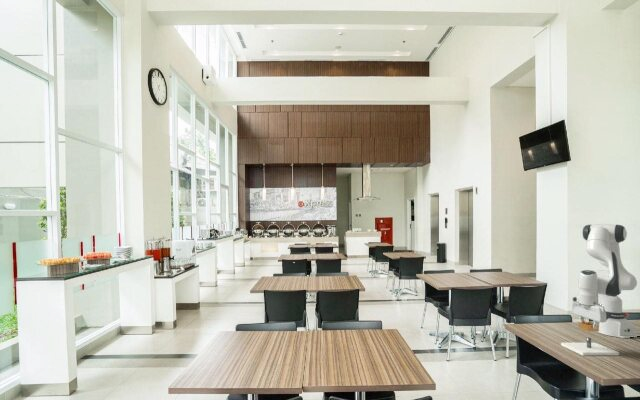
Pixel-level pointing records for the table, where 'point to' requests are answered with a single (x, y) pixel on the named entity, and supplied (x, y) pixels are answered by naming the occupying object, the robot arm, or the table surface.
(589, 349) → the plate
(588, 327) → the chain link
